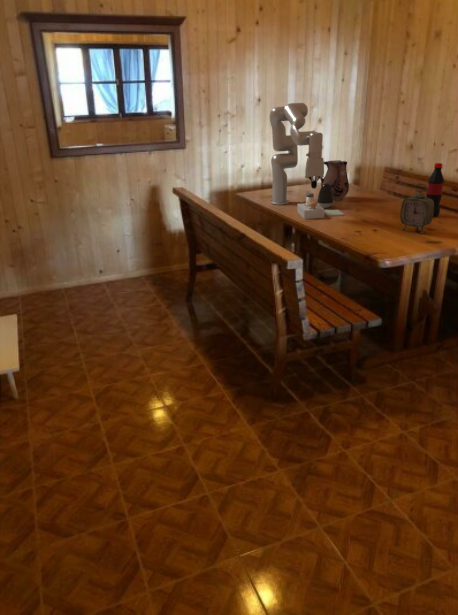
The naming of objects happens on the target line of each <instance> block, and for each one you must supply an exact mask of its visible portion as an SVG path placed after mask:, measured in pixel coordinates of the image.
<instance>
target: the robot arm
mask: <svg viewBox="0 0 458 615" xmlns="http://www.w3.org/2000/svg"><path fill="white" fill-rule="evenodd" d="M308 111H309V109H308V106H307V105H306V104H305V103H304V102H292V103H288V104H286V105H284V106H276V107H273V108H271V110H270V111H269V112H270V113H269V123H270V126H271V130H272V131H271V133H272V135H271V136H272V137H271V138H272V147H273V150H274V151H275V152H277V154H274V155H273V156H272V157H271V159H270V162H271V163H270V164H271V169H272V172H271V173H272V191H271V192H272V194H271V195H272V198H271V200H270V201H269V203H270V204H271V205H277V206H278V205H279V206H281V205H287V204H290V201H289V200H288V197H287V196H288V175H287V172H286V171H285V169H294V168H296V167H297V166H298V162H299V159H298V158H299V156H298V155H299V154H298V153H299V152H298V150H299V149H298V148H299V147H300V146H308V152H307V153H306V154H305V156H306V163H305V170H304V171H305V172H304V174H305V175H304V178H305V179H308V180H310V187H311V188H312V189H317V187H318V181H319V180H320V178H324V177H325V164H324V161H325V159H324V158H323V143H324V142H323V138H324V134H323V133H322V132H318V131H315V130H310V131H309V130H307V131H299V130H300V129H302V128H303V127H304V126H305V124H306V117H307V115H308V113H309V112H308ZM283 122H289V124H290V129H289V133H290V134H289V135H287V133H286V126H285V124H284V123H283ZM298 146H299V147H298ZM278 152H287V153H278Z"/></svg>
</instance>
